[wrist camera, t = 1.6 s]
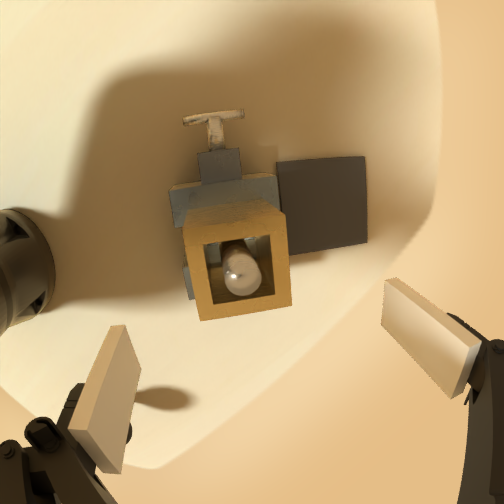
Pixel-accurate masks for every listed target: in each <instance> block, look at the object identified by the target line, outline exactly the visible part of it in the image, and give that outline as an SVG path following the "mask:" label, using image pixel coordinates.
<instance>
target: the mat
mask: <svg viewBox="0 0 504 504" xmlns="http://www.w3.org/2000/svg"><path fill="white" fill-rule="evenodd" d="M276 163H277V173H278V183H279V193H280V204H281V212H282V213H284V214H285V217H286V229H287V241H288V254H289V256H290V255H296V254H302V253H308V252H314V251H320V250H326V249H332V248H338V247H344V246H350V245H356V244H362V243H367V191H366V170H365V157H363V156H361V157H339V158H322V159H308V160H296V161H285V162H276Z"/></svg>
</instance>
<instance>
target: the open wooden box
mask: <svg viewBox="0 0 504 504" xmlns="http://www.w3.org/2000/svg"><path fill="white" fill-rule="evenodd" d="M182 233H183V239H184V244H185V250H186V255H187V261H188V266H189V271H190V276H191V281H192V286H193V291H194V295H195V300H196V305H197V309H198V314H199V319H200V321H206V320H212V319H219V318H225V317H231V316H237V315H243V314H249V313H255V312H261V311H266V310H272V309H277V308H282V307H288V306H292V297H291V282H290V268H289V254H288V241H287V229H286V217H285V214H284V213H282V212H281V211H279V210H278V209H277V208H275V207H274V206H273V205H271V204H270V203H268V202H267V201H266V200H264V199H257V200H249V201H242V202H235V203H228V204H221V205H214V206H208V207H201V208H195V209H189V210H188V211H187V215H186V218H185V221H184V225H183V228H182ZM248 237H255V245H256V254H257V259H255V262H256V264H257V266H258V268H259V270H260V273H261V283H260V285H259V287H258V289H257V290H256V291H254V292H253V293H251V294H249V295H245V296H240V295H236V294H233V293H232V292H230V291H229V289H228V288H227V286H226V284H225V279H224V273H223V268H222V265H217V266H210V262H209V256H208V250H207V244H209V243H215V242H222V241H228V240H235V239H241V238H248Z"/></svg>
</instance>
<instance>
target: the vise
mask: <svg viewBox="0 0 504 504" xmlns="http://www.w3.org/2000/svg"><path fill="white" fill-rule="evenodd" d="M234 119H244V110H243V109H238V110H228V111H219V112H211V113H204V114H197V115H190V116H184V117H183V124H184V126H188V125H195V124H202V123H206V127H207V135H208V144H209V152H204V153H197V155H198V163H199V170H200V178H201V181H196V182H190V183H184V184H178V185H174V186H173V187H172V188H171V189H170V190H169V196H170V202H171V208H172V214H173V220H174V226H175V228H177V227H183V225H184V221H185V218H186V215H187V211H188V210H189V209H195V208H201V207H208V206H214V205H221V204H228V203H235V202H242V201H249V200H257V199H264V200H266V201H267V202H268V203H270V204H271V205H273V206H274V207H275V208H277V209H278V210H279V211H280V204H279V194H278V183H277V176H276V175H272V174H269V173H265V172H263V173H255V174H246V175H242V173H241V164H240V156H239V148H234V149H226V150H225V141H224V133H223V125H222V121H225V120H234ZM207 250H208V256H209V262H210V266H217V265H222V268H223V273H224V279H225V284H226V286H227V288H228V289H229V291H230V292H232V293H233V294H236V295H240V296H245V295H249V294H251V293H253V292H254V291H256V290H257V289H258V287H259V285H260V283H261V273H260V270H259V268H258V266H257V264H256V262H255V259H257V254H256V245H255V239H250V240H244V238H241V239H235V240H228V241H222V242H218V244H217V245H211V246H207ZM183 273H184V278H185V283H186V287H187V292H188V297H189V300H192V299H195V295H194V291H193V286H192V281H191V276H190V271H189V266H188V261H187V255H186V251H185V256H184V262H183Z"/></svg>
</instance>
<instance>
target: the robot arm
mask: <svg viewBox="0 0 504 504" xmlns="http://www.w3.org/2000/svg"><path fill="white" fill-rule="evenodd" d="M54 286H55V268H54V262H53V258H52V254H51V251H50V248H49V246H48V244H47V242H46V240H45V238H44V236H43V234H42V233H41V231H40V230H39V229H38V227H37V226H36V225H35V224H34V223H33V222H32V221H31V220H30V219H29V218H28V217H26V216H25V215H23V214H21V213H19V212H17V211H14V210H0V336H1V335H2V334H3V333H4V332H5V331H6V330H7V328H9V327H11V326H14V325H17V324H19V323H22V322H25V321H27V320H30V319H32V318H34V317H35V316H37V315H38V314H39V313H40V312H41V311H42V310H43V308H44V307H45V306H46V305H47V304H48V302H49V301H50V299H51V297H52V294H53V291H54ZM381 325H382V326H383V327H384V328H385V330H387V332H388V333H389V334H390V335H391V336H392V337H393V338H394V339H395V340H396V341H397V342H398V343H399V344H400V345H401V346H402V347H403V348H404V349H405V350H406V351H407V353H408V354H409V355H410V356H411V357H412V358H413V359H414V360H415V361H416V362H417V363H418V364H419V365H420V366H421V368H422V369H423V370H424V371H425V372H426V373H427V374H428V375H429V376H430V377H431V378H432V379H433V380H434V382H435V383H436V384H437V385H438V386H439V387H440V388H441V389H442V391H443V392H444V393H445V394H446V395H447V396H448V397H449V398H450V399H452V398H454V397H456V396H458V395H459V394H461V393H463V391H464V389H465V386H466V384H467V382H468V383H469V384H470V385H471V388H470V391H469V393H468V395H467V397H466V400H465V403H464V405H466V404H467V402H468V400H469V416H468V433H467V445H466V453H465V462H464V468H463V475H462V481H461V487H460V492H459V497H458V501H457V504H504V341H503V340H499V339H494V340H491V341H489V340H487V339H486V338H485V337H483V336H482V335H481V334H480V333H479V332H477V331H476V330H475V329H473V328H472V327H470V326H469V325H468V324H467V323H464V321H463V320H461V319H460V318H459V317H457V316H455V315H453V314H450V313H445V312H443V311H442V310H441V309H439V308H438V307H437V306H435V305H434V304H433V303H431V302H430V301H429V300H427V299H426V298H425V297H423V296H422V295H420V294H419V293H418V292H416V291H415V290H413V289H412V288H411V287H409V286H408V285H406V284H405V283H404V282H402V281H401V280H400V279H398V278H393V279H388V280H385V286H384V298H383V309H382V319H381ZM140 373H141V367H140V364H139V362H138V359H137V357H136V354H135V351H134V349H133V346H132V343H131V340H130V338H129V335H128V332H127V329H126V326H125V325H118V326H111V327H110V329H109V331H108V333H107V336H106V338H105V340H104V342H103V344H102V346H101V349H100V351H99V353H98V355H97V357H96V360H95V362H94V364H93V367H92V369H91V371H90V373H89V376H88V378H87V381H86V383H78V384H77V385H76V386H75V387H74V388H73V389H72V390H71V391H70V393H69V395H68V398H67V402H65V405H64V409H62V412H61V414H60V417H59V419H58V422H57V424H56V425H55V423H54V422H53V421H52V420H51V419H50V418H48V417H38V418H35V419H34V420H32V421H31V422H29V424H28V425H27V426H26V429H25V431H24V435H25V438H26V439H27V440H28V442H29V443H30V444H31V445H32V447H26V448H22V447H21V446H20V444H19V443H18V442H17V441H15V440H6V441H4V442H2V444H0V504H61V503H62V504H118V503H117V502H116V501H115V499H114V498H113V497H112V495H111V494H110V493H109V492H108V490H107V489H106V487H105V486H104V485H103V483H102V482H101V480H100V479H99V478H98V476H97V475H96V474H95V469H96V465H97V467H98V468H99V469H100V470H101V471H102V472H103V473H110V474H121V470H122V464H123V458H124V452H125V446H126V440H127V435H128V429H129V424H130V419H131V414H132V409H133V404H134V399H135V395H136V390H137V386H138V381H139V377H140Z"/></svg>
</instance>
